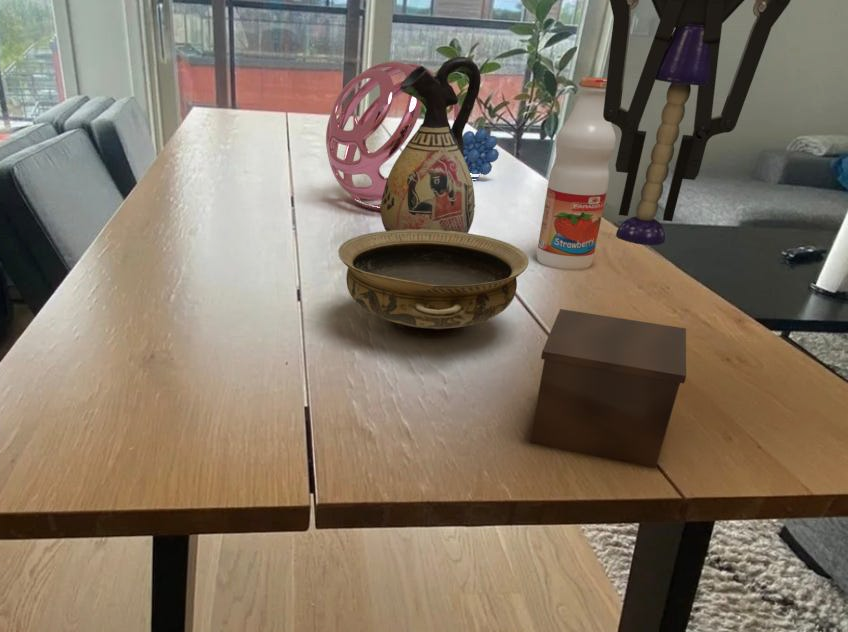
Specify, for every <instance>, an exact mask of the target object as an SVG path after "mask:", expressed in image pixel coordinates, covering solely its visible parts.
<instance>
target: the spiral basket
mask: <svg viewBox="0 0 848 632" xmlns="http://www.w3.org/2000/svg"><path fill="white" fill-rule="evenodd" d="M419 66H421V65H420V64H416V63H405V62H402V61H395V60H394V61H392V60H391V61H385V62H380V63H377V64H375V65H372V66H370V67H368V68H367V69H365V70H364V71H362V72H360V73H359V74H357V75H356V76H355V77H354V78H352V79H351V80H350V81H348V83H347V84H346V85H345V86H344V87H343V88H342V89H341V91H340V92H339V94H338V96H337V97H336V100H335V102H334V103H333V106H332V109H331V113H330V115H329V118H328V121H327V126H326V131H325V147H326V154H327V158H328V163H329V167H330V169H331V172H332V174H333V176H334V178H335V180H336V182H337V184H339V186H340V187H341V188H342V189H343V190H344V191H346V192H347V194H348V195H349V196H350V197H351V198H352V199H353V198H354V199H356V200H359V201H361V200H367V201H382V196H383V192H384V188H385V185H386V182H387V179H388V177H385V176H384V175H383V174H382V173H381V171H380V170H381V169H380V168H381V167H382V166H383V165H384V164H385V163H386V162H388V161H389V160H390V159H391V158H392V157H394V156H395V154H396V153H397V152H398V151H399V150H400V149H401V147H402V146H403V145H404V144H405V142H406V141H407V139H409V137H410V135H411V133H412V132H413V130H414V128H415V126H416V123H417V121H418V118H419V115H420V112H421V109H422V105H423V103H422V102H421V101H419V100H417V99H416V98H414V97H412V96H411V95H408V100H407V104H406V108H405V111H404V114H403V115H402V118H401V120H400V122H399V123H398V126H397V128H396V129H395V131H393V133H392V135H391V136H390V137H389V138H388V139H387V141H386V142H385V143H383V144H382V145H381V146H380V147H379V148H378V149H377V150H375V151H373V152H371V151H370V150H369V149H368V145H367V142H366V141H367V139H368V138H369V137H371V136H372V135H373V134H374V133H375V132H376V131H377V130H378V129H379V128H380V126H381V125H382V124H383V123H384V121H385V119H386V118H387V116H388V114H389V112H390V110H391V107H392V105H393V101H394V100H395V99H396V98H398V97H399V96H401V95H403V94H405V93H404V92H402V91H401V90H400V87H401V84H402V82H403V81H404V80H401V81H399V82H397V83H395V84H394V82H393V81H394V80H393V79H392V77H393V76H395V75H397V74H401V73H403V74H404V76H405V79H406V78H407V76H408V75H409V74H410V73H411V72H412V71H413V70H415V69H416V68H418V67H419ZM423 67H424V68H425V69H426V70H427V71H428V72H429V73H430V74H431V75H432V76H433V77H435V76H436V75H437V74H435V72H434V71H432V70H430V69H429V68H427V67H425V66H423ZM383 69H384V70H383ZM367 79H368V80H367ZM363 80H367V82H365V83H364V84H363V85H362V86H361V87H360V88H359V89H358V90H357V91H356V93H355V94H353V96H352V97H351V98H350V100H349V102H347V104H346V106H345V107H344V109H343V110H342V112H341V113H340V114H339V116H338V112H339V110H341V109H340V108H341V107H342V105H343V103H344V102H345V101H346V99H347V97H348V96H349V95H350V94H351V93H352V91H353V90H354V89H355V87H357V86H358V85H359V84H360V83H361V82H363ZM377 86H379V96H378V97H377V98H376V99H375V100H373V102H371V104H370V105H369V106H368V107H367V109H366V110H365V111H364V112H363V114H362V115H361V116H360V118H359V119H358V117H357V115H356V114H353V112H354V111H355V110H356V109H357V107H358V105H359V104H360V103H361V102H362V101H363V100H364V98H365V97H366V96H367V95H368V94H369V93H370V92H371V91H372V90H374V89H375V88H376V87H377ZM452 106H453V114H454V115H453V117H454V118H453V122H454V121H455V119H456V118H457V115H458V113H459V111H460V109H461V106H460V102H459V101H458V103H457V104H455V105H452ZM352 115H353V118H352V119H353V121H352V122H353V126H352V129H349V130H346V129H345V127H346V125H347V123H348V121H349V119H350V118H351V116H352ZM337 116H338V117H337ZM339 145H341V146H346V147H345V152H344V156H343V159H341V158H340V157H338V151H339ZM357 150H358V151H359V158H358V159H357V160H355V155H356V152H357ZM340 172H341V173H342V175H341V174H340ZM354 175H356V176H357V175H367V177H368V178H370V181H371V184H370V185H368V186H356V185H355V184H354V181H353V176H354ZM342 176H343V177H342ZM354 199H353V200H354ZM360 199H361V200H360ZM355 203H357V204H358V205H360V206H361V207H363V208H365V209H367V210H371V211H375V212H381V211H380V208H377V207H372V206H369V205H365V204H362V203H359V202H357V201H355ZM371 204H372V205H374V206H378V207H381V203H380V204H379V203H378V204H375V203H374V204H373V203H371Z"/></svg>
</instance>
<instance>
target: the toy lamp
mask: <svg viewBox="0 0 848 632" xmlns="http://www.w3.org/2000/svg"><path fill="white" fill-rule="evenodd" d="M704 29H705V25H696V24H687V25H685V26H684V27H680V28H674V31H673V34H672V36H671V39H670V41H669V44H668V47H667V49H666V52H665V55H664V58H663V60H662V63H661V66H660V69H659V71H658V74H657V77H656V80H655V81H658V82H666V83H670V85H669V86H668V88H667V92H666V103H665V105H664V106H663V108H662V111H661V114H660V115H661V116H660V117H661V123H660V125H659V126H658V128H657V130H656V134H655V141H656V143H655V144H654V145H653V146H652V150H651V153H650V161H651V162H650V163H649V165H647V168H646V171H645V180H646V181H645V182H644V183H643V185H642V187H641V191H640V198H641V199H640V200H639V202H638V204H637V207H636V210H635V212H636V213H635V214H636V216H632V217H629V218H626V219H625V220H624V221H623V222H622V223H621V224H619V226H618V228H617V230H616V232H615V236H616V238H617V239H619V240H621V241H624V242H626V243H627V242H628V243H631V244H635V245H642V246H659V245H663V244H664V243H665V240H666V231H665V228H664V226H663V224H662V223H660V222H659V221H658V220H656V219H655V217H656V215H657V213H658V210H659V203H658V202H659V200H660V199H661V198H662V196H663V192H664V182H665V181H666V180H667V178H668V175H669V170H670V169H669V168H670V167H669V164H670V163H671V161H672V160H673V157H674V153H675V146H674V145H675V144H676V142H677V140H678V138H679V134H680V125H681V123H682V122H683V120H684V117H685V113H686V108H685V107H686V106H685V105H686V103H687V102H688V100H689V98H690V95H691V92H692V91H691V90H692V87H691V86H698V85H700V86H705V85H707V84H708V81H709V70H710V69H709V45H708V44H706V43H703V39H704Z"/></svg>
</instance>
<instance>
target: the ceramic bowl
mask: <svg viewBox="0 0 848 632" xmlns="http://www.w3.org/2000/svg"><path fill="white" fill-rule="evenodd" d="M337 253H338V258H339V259H340V261H341V262H342V263H343V264H344V265H345V266H346V267H347V270H346V279H345V280H346V287H347V291H348V293H349V294H350V296H351V297H352V299H353V300H354V301H355V302H356V304H357V305H358V306H360V307H361V308H363V309H364V310H365V311H367V312H368V313H370V314H372V315H373V316H376V317H379V318H380V319H383V320H386V321H389V322H392V323H395V324H398V327H399V328H400V329H401V330H402V331H403V332H406V333H408V334H411V335H415V336H419V337H427V338H440V337H441V338H442V337H448V336H452V335H455V334H456V333H458V331H459V328H461V327H467V326H468V327H469V326H473V325H477V324H479V323H482V322H485V321H488V320H490V319H492V318H494V317H496V316H497V315H499V314H501V313H502V312H504V311H505V310H506V309H507V308H508V307H509V306H510V305H511V303H512V302H513V300H514V298H515V296H516V292H517V287H518V281H517V278H518V277H519V276H520V275H521V274H522V273H524V272H525V271H526V270H527V268H528V267H529V263H530V262H529V261H530V260H529V256H528V255H527V254H526V253H525V252H524V251H523V250H522V249H521V248H518V247H517V246H515V245H514V244H511V243H509V242H506V241H503V240H500V239H497V238H494V237H489V236H487V235H481V234H475V233H470V232H468V233H463V232H456V231H443V230H429V229H406V230H392V231H387V232H386V230H383V231H382V230H381V231H376V232H370V233H366V234H365V233H364V234H360V235H358V236H355V237H352V238H350V239H348V240H346V241H344V242H343V243H342V244H341V245H340V246H339V247H338V251H337Z"/></svg>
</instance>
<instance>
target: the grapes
mask: <svg viewBox="0 0 848 632" xmlns="http://www.w3.org/2000/svg"><path fill="white" fill-rule="evenodd" d="M488 135H489V132H488V131H487V130H486V128H480V129H477V131H476V132H475V133H474V131H472V130H467V131H466V132H463V135H462V137H463V152H464V159H465V162H466V164H467V167H468V170H469V172H470V173H472V174H480V175H482V174H483V175H482V176H486V175H488V174H490V173H491V172H492V167H493V165H492V163H495V162H496V161H497V160H498V158H499V156H500V153H499V150H498V149H497V148H495V147H496V146H497V144H498V138H497V136H495V135H489V136H488ZM471 178H472V179H477V180H478V179H479V178H480V176H479V177H471Z"/></svg>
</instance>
